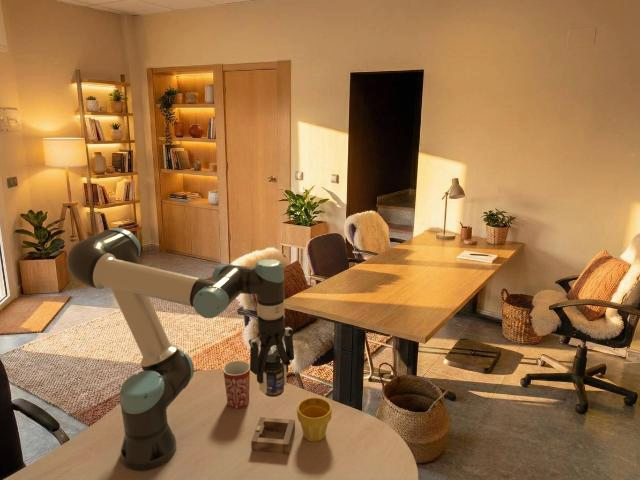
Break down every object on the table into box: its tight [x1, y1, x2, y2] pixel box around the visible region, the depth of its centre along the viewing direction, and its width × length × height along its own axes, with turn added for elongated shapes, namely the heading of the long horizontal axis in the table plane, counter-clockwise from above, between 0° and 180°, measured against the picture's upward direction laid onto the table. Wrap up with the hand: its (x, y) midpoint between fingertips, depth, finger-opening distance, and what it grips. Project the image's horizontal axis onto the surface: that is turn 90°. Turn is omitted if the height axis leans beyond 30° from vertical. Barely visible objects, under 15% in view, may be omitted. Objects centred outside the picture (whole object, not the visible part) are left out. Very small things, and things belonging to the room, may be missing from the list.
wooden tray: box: [250, 416, 296, 455], centre depth 147 cm, size 11×11×4 cm
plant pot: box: [296, 396, 333, 442], centre depth 148 cm, size 10×10×10 cm
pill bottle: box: [264, 353, 285, 398], centre depth 141 cm, size 6×6×11 cm
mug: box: [222, 360, 251, 410], centre depth 165 cm, size 13×9×14 cm
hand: (273, 387), depth 142 cm, fingers closed on pill bottle, 6 cm apart
